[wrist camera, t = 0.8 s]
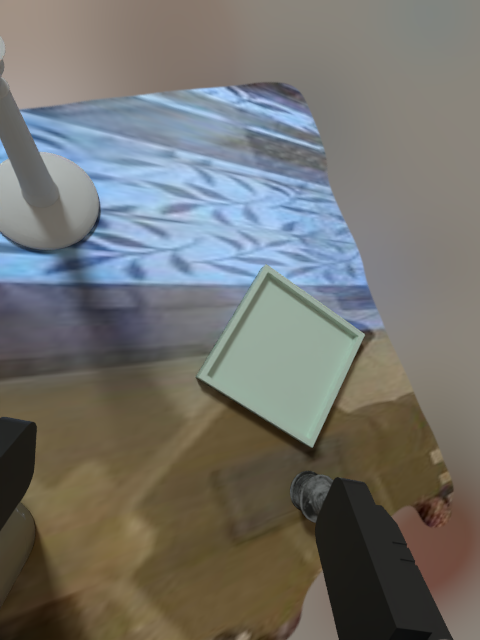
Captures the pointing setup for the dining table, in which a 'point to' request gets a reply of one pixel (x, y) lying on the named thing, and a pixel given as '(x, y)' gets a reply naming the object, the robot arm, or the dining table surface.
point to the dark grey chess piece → (310, 493)
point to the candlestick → (40, 186)
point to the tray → (283, 356)
